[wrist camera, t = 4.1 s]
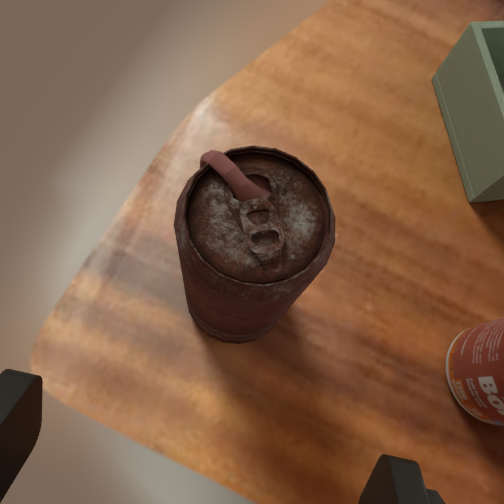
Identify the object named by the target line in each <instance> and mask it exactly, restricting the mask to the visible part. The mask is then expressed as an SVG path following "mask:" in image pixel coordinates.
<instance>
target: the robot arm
mask: <svg viewBox="0 0 504 504" xmlns="http://www.w3.org/2000/svg"><path fill="white" fill-rule="evenodd" d="M42 384H43V382H42V377H41V376H38V375H34V374H29V373H25V372H20V371H16V370H12V369H6V370H4V371H3V372H2V373H1V374H0V502H1V501H2V499H3V498H4V496H5V494H6V493H7V491H8V489H9V488H10V486H11V484H12V483H13V481H14V480H15V478H16V476H17V474H18V473H19V471H20V470H21V468H22V466H23V465H24V463H25V461H26V460H27V458H28V457H29V455H30V453H31V452H32V450H33V447H34V446H35V444H36V441H37V439H38V436H39V432H40V428H41V422H42ZM359 504H445V502H444V501H443V499H442V498H441V496H440V495H439V493H438V492H437V491H435V490H430V489H426V488H425V484H424V481H423V477H422V474H421V470H420V467H419V465H418V463H417V462H416V461H413V460H408V459H404V458H399V457H395V456H390V455H386V454H383V455H381V456H380V458H379V459H378V461H377V463H376V465H375V467H374V469H373V471H372V474H371V476H370V478H369V480H368V482H367V484H366V486H365V488H364V490H363V492H362V494H361V496H360V500H359Z"/></svg>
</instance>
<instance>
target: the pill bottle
mask: <svg viewBox="0 0 504 504" xmlns="http://www.w3.org/2000/svg"><path fill="white" fill-rule="evenodd" d="M446 375H447V380H448V384H449V387H450V389H451V391H452V393H453V395H454V397H455V399H456V400H457V402H458V403H459V404H460V405H461V406H462V407H463V408H464V409H465V410H466V411H467V412H468V413H469V414H471V415H472V416H474V417H475V418H477V419H479V420H481V421H483V422H486V423H490V424H495V425H502V426H504V318H501V319H497V320H494V321H490V322H486V323H482V324H479V325H476V326H473V327H470V328H468V329H466V330H464V331H463V332H462V333H460V334H459V335H458V336H457V337H456V338H455V339H454V341H453V342H452V344H451V346H450V348H449V350H448V353H447V357H446Z"/></svg>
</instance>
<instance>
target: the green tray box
mask: <svg viewBox="0 0 504 504" xmlns="http://www.w3.org/2000/svg"><path fill="white" fill-rule="evenodd" d="M432 82H433V85H434V88H435V92H436V95H437V98H438V102H439V105H440V108H441V112H442V115H443V118H444V122H445V125H446V128H447V132H448V135H449V138H450V142H451V145H452V148H453V152H454V155H455V158H456V162H457V165H458V168H459V172H460V175H461V178H462V182H463V185H464V188H465V191H466V195H467V198H468V201H469V203H473V202H483V201H494V200H504V21H487V22H471V23H470V24H469V26H468V27H467V28H466V30H465V31H464V33H463V34H462V36H461V37H460V38H459V40H458V41H457V43H456V44H455V46H454V47H453V48H452V50H451V51H450V53H449V54H448V56H447V57H446V59H445V60H444V61H443V63H442V64H441V66H440V67H439V69H438V70H437V71H436V73H435V74H434V76H433V77H432Z"/></svg>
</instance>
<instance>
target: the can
mask: <svg viewBox="0 0 504 504" xmlns="http://www.w3.org/2000/svg"><path fill="white" fill-rule="evenodd" d="M174 228H175V234H176V240H177V246H178V252H179V258H180V264H181V270H182V275H183V281H184V287H185V293H186V299H187V304H188V309H189V313H190V314H191V316H192V318H193V320H194V321H195V323H196V325H197V326H198V327H199V328H200V329H201V330H202V331H203V332H205V333H206V334H207V335H208V336H210V337H212V338H214V339H216V340H219V341H221V342H224V343H235V344H241V343H245V342H249V341H254V340H256V339H257V338H259V337H261V336H262V335H264V334H265V333H267V332H268V331H269V330H270V329H271V328H272V327H273V325H274V324H275V323H276V322H277V321H278V320H279V319H280V317H281V316H282V315H283V314H284V313H285V312H286V311H287V309H288V308H289V307H290V306H291V305H292V304H293V303H294V301H295V300H296V299H297V298H298V297H299V296H300V295H301V293H302V292H303V291H304V290H305V289H306V288H307V287H308V286H309V284H310V283H311V282H312V281H313V280H314V278H315V277H316V276H317V275H318V274H319V273H320V271H321V270H322V269H323V268H324V267H325V265H326V264H327V262H328V259H329V256H330V254H331V251H332V248H333V246H334V243H335V216H334V212H333V209H332V206H331V203H330V199H329V196H328V194H327V191H326V188H325V187H324V185H323V184H322V183H321V181H320V180H319V178H318V177H317V175H316V174H315V172H314V171H313V170H312V169H310V168H309V167H308V166H307V165H305V164H304V163H303V162H302V161H300V160H299V159H298V158H297V157H295V156H292V155H290V154H288V153H285V152H283V151H280V150H278V149H276V148H268V147H260V146H248V147H242V148H236V149H230V150H228V151H226V152H224V153H222V152H220V151H214V150H211V151H209V152H207V153H205V154H203V155H202V156H201V160H200V169H199V170H198V171H197V172H196V173H195V174H194V175H193V176H192V177H191V178H190V179H189V180H188V181H187V183H186V185H185V187H184V189H183V191H182V193H181V195H180V197H179V199H178V200H177V206H176V213H175V220H174Z"/></svg>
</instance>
